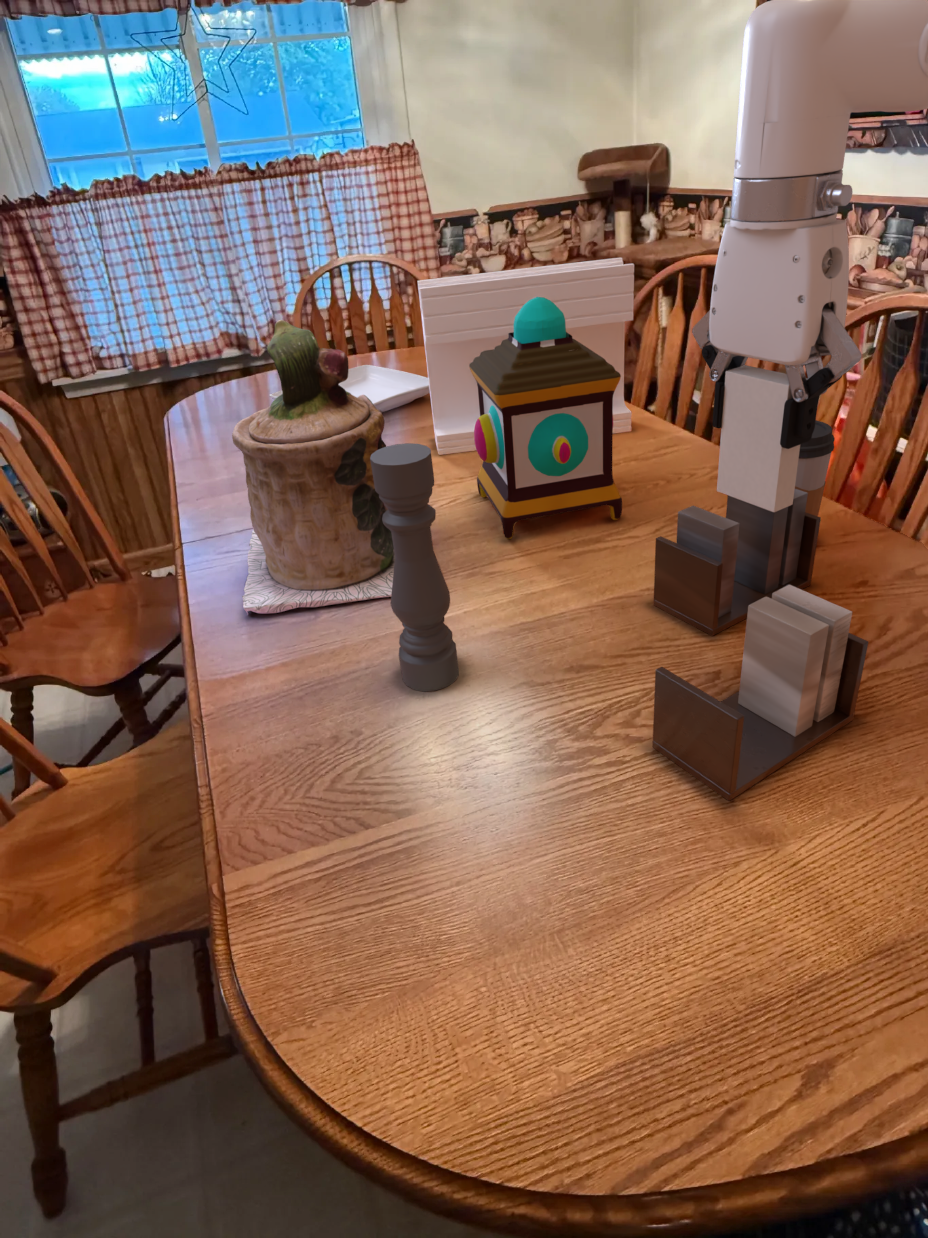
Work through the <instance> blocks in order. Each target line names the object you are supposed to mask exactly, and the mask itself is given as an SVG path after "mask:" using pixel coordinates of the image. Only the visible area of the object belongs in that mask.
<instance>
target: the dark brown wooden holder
mask: <svg viewBox="0 0 928 1238" xmlns="http://www.w3.org/2000/svg"><path fill="white" fill-rule="evenodd" d="M807 495H808V493H807V492H804V491H801V490H798V489H795V490H794V498H793V504H792V505H790V506H788V507H786V508H783V509H781V510H779V511H776V512H772V511H769V510H766V509H764V508H761V507H758V506H756V505H753V504H750V503H747V502H745V501H742V500H739V499H737V498H734V497H731V496H729V495H727V497H726V498H727V499H726V509H725V510H726V511H725V512H726V513H725V517H724V516H721V515H719V514H717V513H714V512H712V511H709V510H706V509H703V508H701V507H698V506H696V505H691V506H689V507H686V508H684V509H681V510H678V511H677V524H676V525H677V526H676V542H675V541H672V540H670V539H668V538H666V537H664V536H661V535H660V536H658V537H655V551H654V552H655V554H654V576H653V577H654V578H653V580H654V581H653V603H652V604H653V606H655V607H656V608H658V609H660V610H662V611H664V612H666V613H667V614H669V615H671V616H673V617H676V618H677V619H679V620H680V621H683V622H685V623H687V624H688V625H690V626H692V627H694V628H696V629H698V630H700V631H702V632H704V633H705V634H707V635H709V636H711V637H713V636H715V635H717V634H719V633H721V632H723V631H725V630H727V629H728V628H731V627H733V626H734V625H736V624H739V623H740V622H743V621H744V620H747V614H748V606H749V605H750V604H752V603H754V602H756V601H758V600H760V599H762V598H764V597H769V598H771V599H772V594H773V593H774V592H776V591H778V590H780V589H782V588H784V587H786V586H788V585H792V586H794V587H796V588H799V589H801V590H804V589H806V588H807V587H809V586H811V584H812V578H813V572H814V565H815V560H816V559H815V558H816V552H817V545H818V540H819V539H818V538H819V533H820V532H819V531H820V525H821V516H819V515H818V516H815V515H812V514H809V513H806V512H805V510H806V502H807Z"/></svg>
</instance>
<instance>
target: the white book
mask: <svg viewBox="0 0 928 1238" xmlns="http://www.w3.org/2000/svg"><path fill="white" fill-rule="evenodd" d="M806 380H808V377H806ZM792 398H793V397H792V393H791V389H790V385H789V381H788V377H787V373H786V372H785V373H784V372H780V371H774V370H771V369H765V368H762V367H756V366H752V365H747V364H745V365H744V366H741V367H737V368H734V369H731V370H728V371H726V374H725V390H724V403H723V416H722V428H720V443H719V455H718V468H717V483H716V492H718V493H721V494H723V495H726V496H728V495H729V496H731V497H734V498H737V499H739V500H742V501H745V502H747V503H750V504H753V505H756V506H758V507H761V508H764V509H766V510H769V511H772V512H776V511H779V510H781V509H783V508H786V507H788V506H790V505H792V504H793V498H794V490H795V482H796V474H797V466H798V459H799V451H800V445H798V446H795V447H792V448H790V449H786V448H783V447H781V445H780V439H781V430H782V422H783V413H784V405H785V402H786V400H789V399H792Z"/></svg>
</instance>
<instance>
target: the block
mask: <svg viewBox="0 0 928 1238" xmlns="http://www.w3.org/2000/svg"><path fill="white" fill-rule="evenodd" d="M417 290H418V299H419V307H420V315H421V325H422V334H423V343H424V352H425V358H426V359H425V360H426V370H427V378H428V380H429V389H430V393H429V396H430V405H431V414H432V423H433V432H434V442H435V445H436V450H437V454H438V456H440V455H443V456H444V455H449V454H457V453H466V452H473V451H474V452H475V451H477V450H476V447H475V441H474V428H475V424H476V421H477V419H478V418H479V417H480V408H479V396H478V386H477V382H476V380H475V378H474V376H473V375H472V373H471V371H470V368H469V364H470V363H471V362H473V360H474V358H475V357H478V356H480V353H481V352H483V351H486V350H493V349H495V347H496V346H498V345H501V343H502V341H503V340H505V339H508V333H512V332H514V320H515V316H516V315H517V313H518V312H519V311H520V309H521V308H522V307H523V305H524V304H526V303H527V302H528V301H529V300H531V299H533V298H536V297H544V298H546V299H548V300H550V301H551V302H553V303H554V304H555V305H556V306H557V307H558V308H559V309H560V310H561V311H562V312H563V314H564V318H565V324H566V332H567V333H568V334H570V335H571V336H572V338H573V339H575V340H576V341H578V342H580V343H581V344H583V345H584V346H586V347H587V348H589V349H590V350H592V351H593V352H595V353H596V354H598V355H599V356H601V357H602V358H604V359H605V360H606V362H608V363H609V364H611V365H612V366H613V367H614V368H615V370H616V371H617V372H619V373H620V375H621V378H620V381H619V383H618V385H617V387H616V389H615V391H614V394H613V434H620V433H621V434H622V433H628V432H632V415H633V414H632V413H633V412H632V411H631V410H630V409H629V408H628V407H627V405H626V402H625V329H626V328H625V327H626V326H625V324H626V322H631V321H634V307H635V305H634V304H635V303H634V302H635V301H634V300H635V298H634V297H635V294H634V291H635V264H634V263H625V264H624V261H623V257H612V258H604V259H603V258H602V259H596V260H587V261H579V262H569V263H561V264H551V265H543V266H536V267H534V266H533V267H526V268H515V269H508V270H499V271H490V272H482V273H473V274H463V275H456V276H455V275H454V276H446V277H445V276H444V277H438V278H429V279H421V280H417Z"/></svg>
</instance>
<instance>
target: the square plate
mask: <svg viewBox="0 0 928 1238" xmlns="http://www.w3.org/2000/svg"><path fill="white" fill-rule="evenodd" d="M339 385H340V386H341V387H342V388H343V389H345V390H346V391H347V392H349V393H351V395H353V396H355V397H359V396H360V395H362V394H363V395H365V396H367V397H368V398H369V399H370V400H371V402H372V403H373V405H374V406H375V407H376V408H377V409H378V410H379V411H380V412H381V413H382V414H383V413H386V412H388V411H391V410H394V409H396V408H399V407H402V406H404V405H407V404H410V403H412V402H413V401H415V400H417V399H420V398H423V397H425V396H427V395H430V389H429V380H428V376H423V375H419V374H416V373H412V372H407V371H403V370H398V369H394V368H388V367H383V366H377V365H376V366H375V365H372V364H363V365H359V366H355V367H351V368H348V378H347V380H345V381H343V382H341V383H339ZM282 394H283V392H282V389H281V390H279V391H276V392H272V393H271V394H268V396H269V398H272V400H273V401H274V400H275V399H276V398H277V397H278V396H280V395H282Z"/></svg>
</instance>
